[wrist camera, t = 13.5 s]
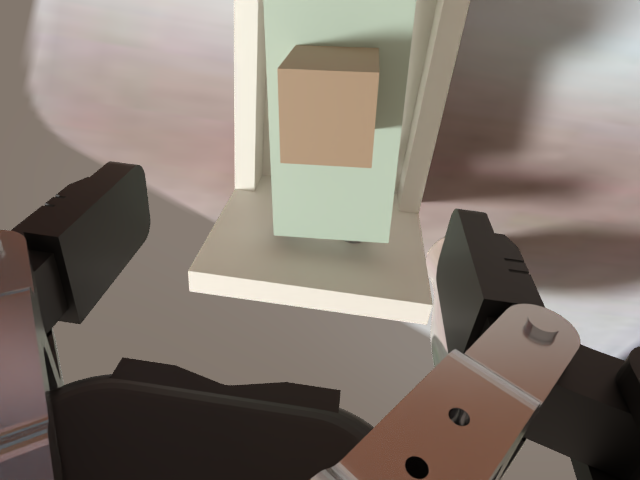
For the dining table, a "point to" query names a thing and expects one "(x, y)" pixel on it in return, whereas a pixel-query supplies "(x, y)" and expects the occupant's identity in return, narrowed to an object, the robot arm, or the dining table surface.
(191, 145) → the dining table surface
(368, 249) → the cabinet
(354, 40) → the shelf board
